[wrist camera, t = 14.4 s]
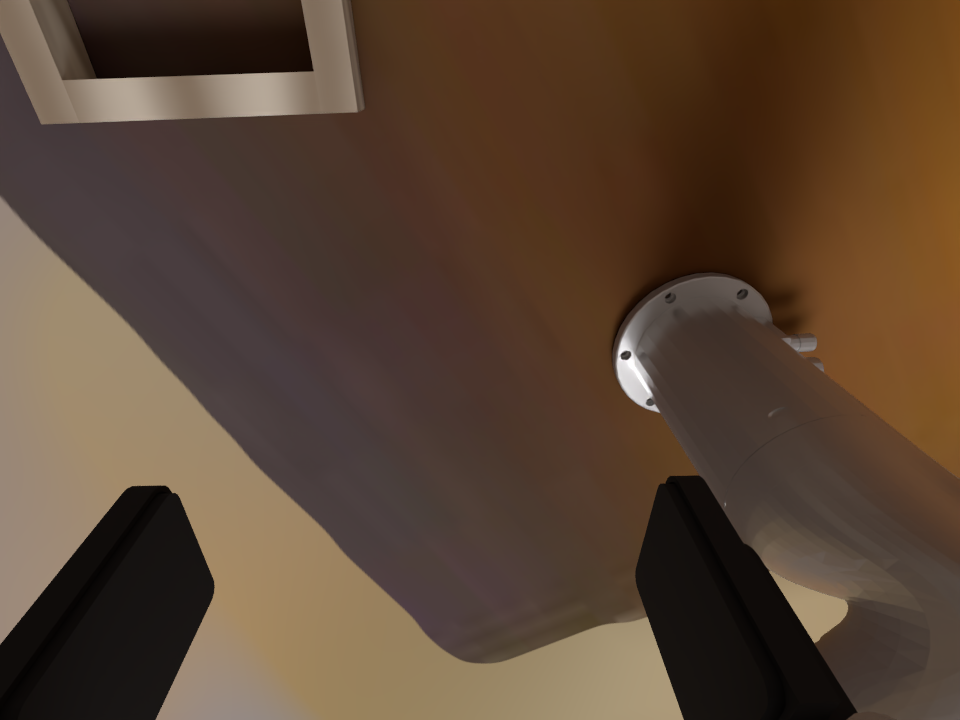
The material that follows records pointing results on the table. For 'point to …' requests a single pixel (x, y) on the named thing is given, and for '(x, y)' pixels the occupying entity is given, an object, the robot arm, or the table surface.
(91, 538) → the robot arm
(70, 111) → the slot holder
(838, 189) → the table surface
